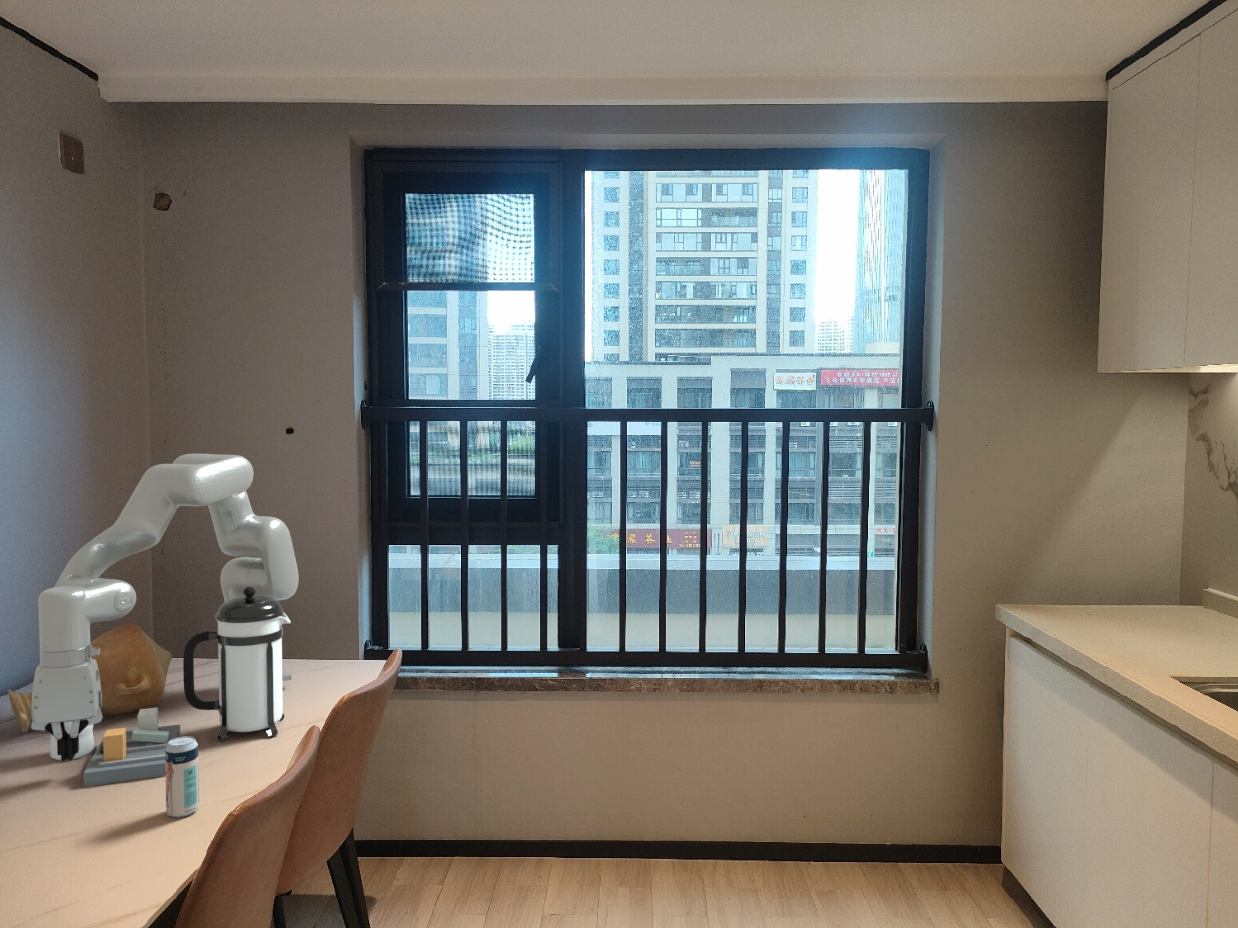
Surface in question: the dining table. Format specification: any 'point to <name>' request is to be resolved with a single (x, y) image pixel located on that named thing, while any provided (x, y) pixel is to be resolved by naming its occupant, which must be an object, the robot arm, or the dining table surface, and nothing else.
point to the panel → (130, 761)
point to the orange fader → (114, 744)
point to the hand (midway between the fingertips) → (68, 757)
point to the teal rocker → (150, 735)
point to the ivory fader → (148, 719)
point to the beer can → (182, 776)
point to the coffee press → (244, 665)
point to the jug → (118, 674)
